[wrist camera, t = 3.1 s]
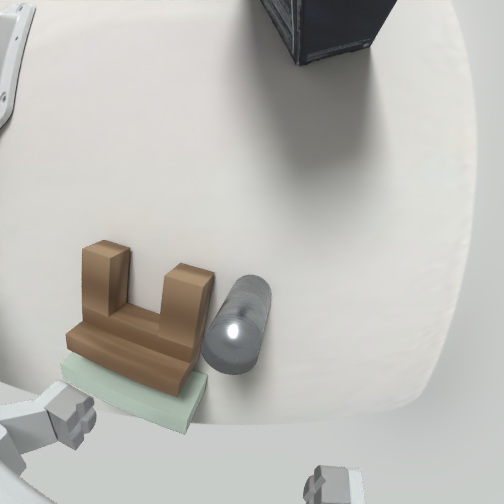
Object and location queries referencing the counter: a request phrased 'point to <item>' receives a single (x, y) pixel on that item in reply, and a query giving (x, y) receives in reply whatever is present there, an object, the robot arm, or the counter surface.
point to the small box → (327, 25)
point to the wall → (136, 393)
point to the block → (140, 320)
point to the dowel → (238, 327)
